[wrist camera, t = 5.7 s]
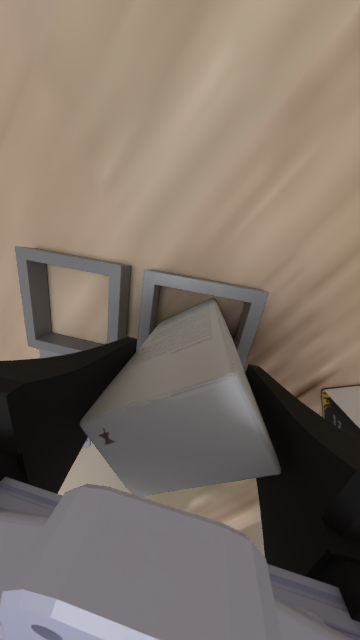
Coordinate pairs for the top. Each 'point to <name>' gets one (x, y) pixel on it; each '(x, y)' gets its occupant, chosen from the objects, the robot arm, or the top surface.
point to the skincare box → (182, 411)
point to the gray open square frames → (119, 301)
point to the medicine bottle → (343, 409)
